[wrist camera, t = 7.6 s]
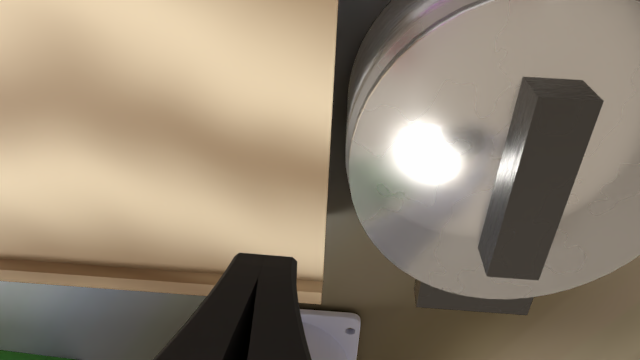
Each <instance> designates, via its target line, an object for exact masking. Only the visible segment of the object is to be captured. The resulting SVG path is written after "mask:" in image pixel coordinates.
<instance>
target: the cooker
mask: <svg viewBox="0 0 640 360" xmlns="http://www.w3.org/2000/svg"><path fill="white" fill-rule="evenodd" d="M475 1H477V0H392V1H391V2H390V3H389V4H388V5H387V6H386V7H385V8H384V10H383V11H382V12H381V14H380V15H379V16H378V17H377V19H376V20H375V21H374V22H373V24H372V26H371V27H370V29H369V31H368V32H367V34H366V36H365V37H364V39H363V41H362V43H361V46H360V48H359V50H358V52H357V55H356V57H355V60H354V64H353V67H352V71H351V74H350V81H349V88H348V102H347V126H346V170H347V176H348V183H349V152H350V145H351V139H352V132H353V129H354V126H355V122H356V119H357V116H358V113H359V110H360V108H361V106H362V104H363V102H364V100H365V98H366V95H367V93H368V92H369V90H370V88H371V87H372V85H373V84H374V82H375V81H376V79H377V78H378V76H379V74H380V73H381V72H382V70H383V69H384V68H385V67H386V66H387V65H388V63H389V62H390V61H391V60H392V59H393V57H394V56H395V55H396V54H397V53H398V52H399V51H400V50H401V49H402V48H403V47H404V46H406V45H407V44H408V43H409V42H410V41H411V40H412V39H413V38H414V37H415V36H417V35H418V34H419V33H421V32H422V31H423V30H425V29H426V28H428V27H429V26H430V25H432V24H433V23H434V22H436V21H437V20H439V19H441V18H443V17H444V16H446V15H448V14H450V13H452V12H453V11H455V10H457V9H459V8H461V7H463V6H465V5H468V4H470V3H473V2H475ZM636 1H638V2H640V0H636ZM349 186H350V183H349ZM414 293H415V301H416V307H422V308H436V309H450V310H464V311H477V312H491V313H505V314H518V315H527V314H528V311H529V309H530V306H531V303H532V300H533V298H534V297H530V298H519V299H485V298H477V297H468V296H464V295H459V294H455V293H450V292H447V291H444V290H441V289H438V288H435V287H432V286H430V285H428V284H426V283H423V282H421V281H419V280H417V279H416V281H415V286H414Z"/></svg>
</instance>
